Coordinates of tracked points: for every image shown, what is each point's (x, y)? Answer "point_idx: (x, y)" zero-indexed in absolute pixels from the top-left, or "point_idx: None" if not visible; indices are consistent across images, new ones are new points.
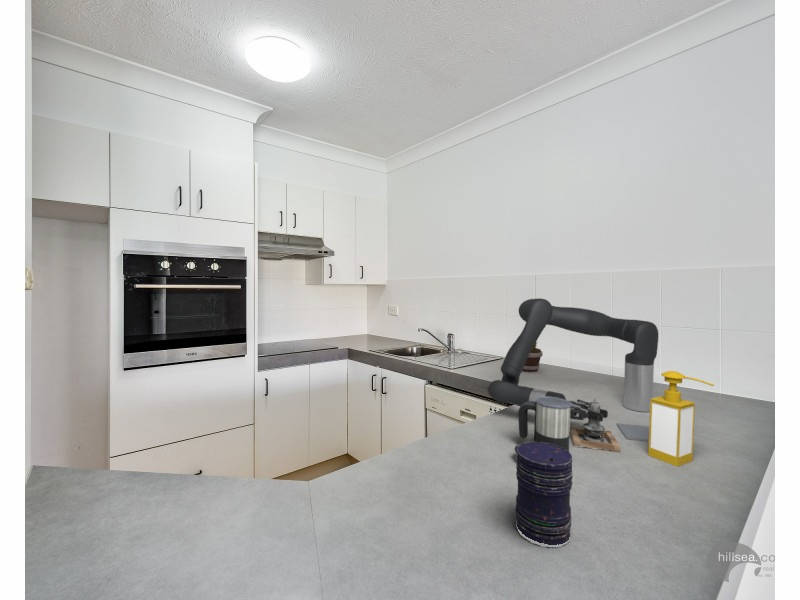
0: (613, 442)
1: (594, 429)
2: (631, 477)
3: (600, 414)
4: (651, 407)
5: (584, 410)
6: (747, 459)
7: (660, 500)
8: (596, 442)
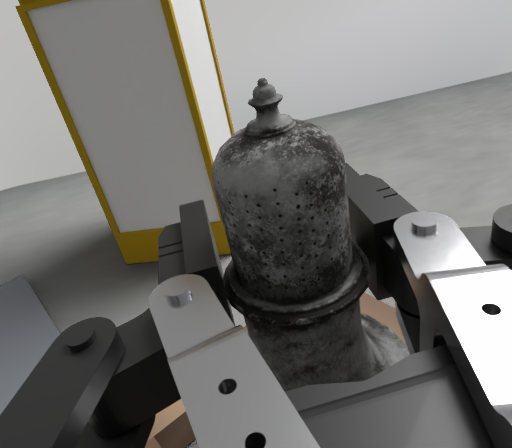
0: None
1: (376, 327)
2: (490, 182)
3: (349, 166)
4: (173, 15)
5: (449, 228)
6: (38, 192)
7: (508, 125)
8: None
